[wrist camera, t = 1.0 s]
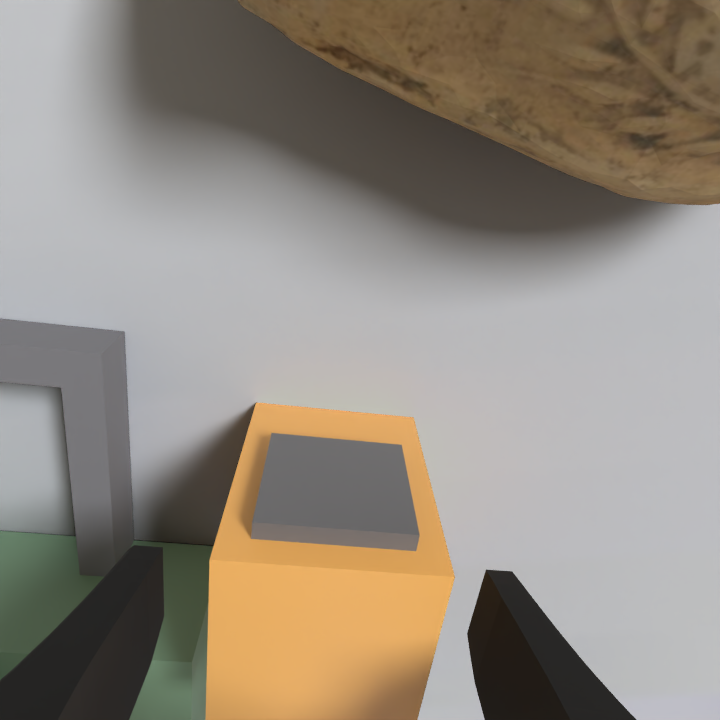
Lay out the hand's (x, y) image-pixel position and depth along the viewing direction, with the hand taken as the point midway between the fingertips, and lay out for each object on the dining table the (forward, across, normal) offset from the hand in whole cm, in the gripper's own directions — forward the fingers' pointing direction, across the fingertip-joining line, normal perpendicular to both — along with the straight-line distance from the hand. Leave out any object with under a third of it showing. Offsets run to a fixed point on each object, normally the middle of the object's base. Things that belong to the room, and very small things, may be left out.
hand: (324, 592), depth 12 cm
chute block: (+4, 0, 0) cm, 5 cm away
